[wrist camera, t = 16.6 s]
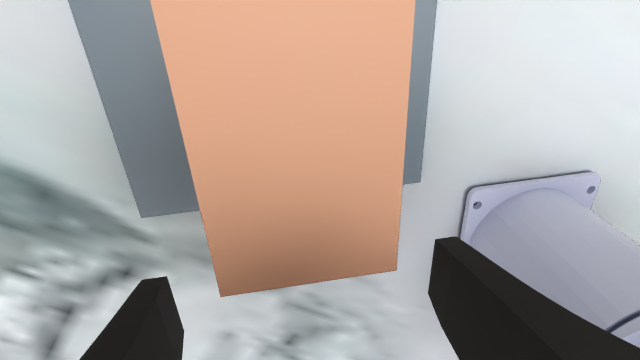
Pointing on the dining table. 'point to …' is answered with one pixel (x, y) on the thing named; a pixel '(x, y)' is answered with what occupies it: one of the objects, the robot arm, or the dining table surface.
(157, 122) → the baseplate
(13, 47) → the dining table surface
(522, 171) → the dining table surface
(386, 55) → the terracotta brick
